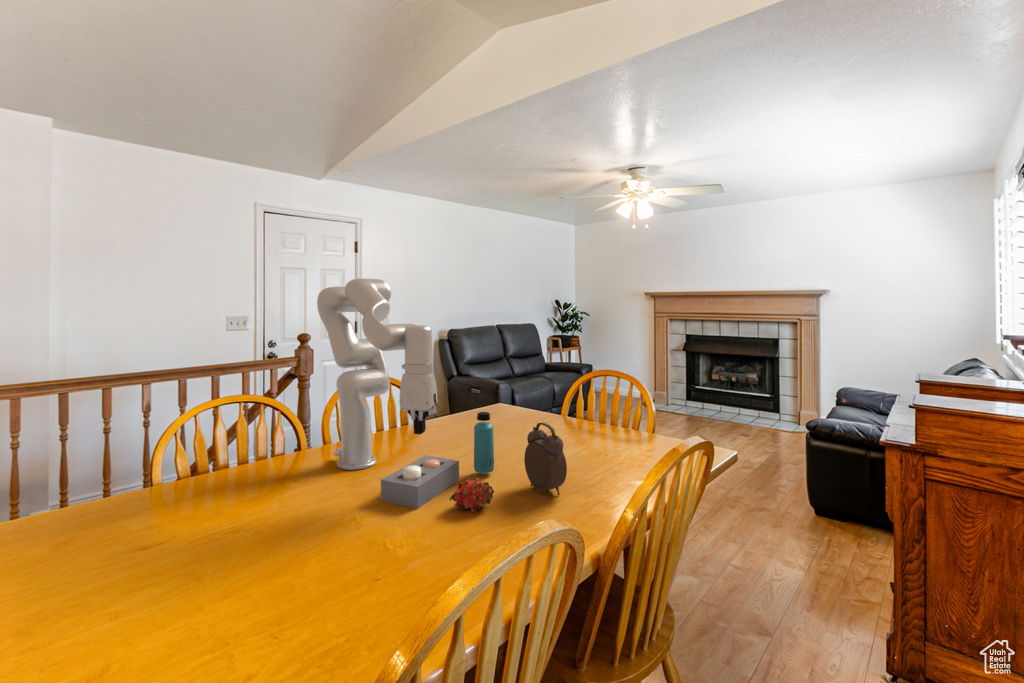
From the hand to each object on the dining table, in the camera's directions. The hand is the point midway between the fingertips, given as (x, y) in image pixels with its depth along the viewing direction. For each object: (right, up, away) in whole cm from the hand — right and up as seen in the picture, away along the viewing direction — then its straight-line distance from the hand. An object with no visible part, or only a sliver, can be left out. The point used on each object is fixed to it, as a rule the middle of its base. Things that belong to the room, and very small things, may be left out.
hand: (419, 432), depth 134 cm
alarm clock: (+36, -18, +3) cm, 40 cm away
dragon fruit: (+16, -19, -9) cm, 26 cm away
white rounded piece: (-2, -14, -2) cm, 14 cm away
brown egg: (+2, -14, +7) cm, 16 cm away
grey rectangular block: (0, -17, +3) cm, 17 cm away
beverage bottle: (+17, -16, +15) cm, 28 cm away
